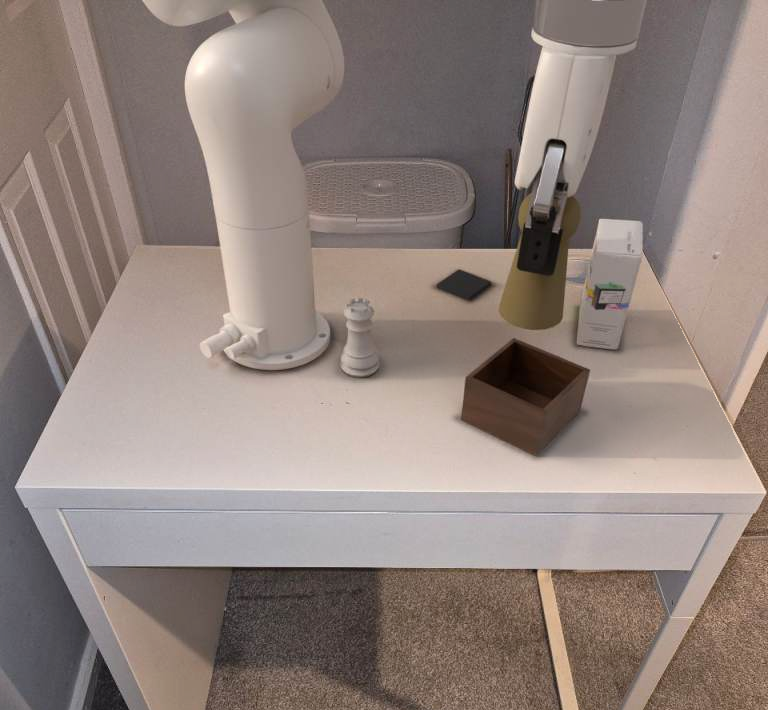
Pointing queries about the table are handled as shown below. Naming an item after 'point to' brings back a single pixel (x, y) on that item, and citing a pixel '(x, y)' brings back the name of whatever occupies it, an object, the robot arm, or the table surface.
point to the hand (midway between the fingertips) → (541, 253)
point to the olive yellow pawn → (539, 279)
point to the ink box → (610, 282)
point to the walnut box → (524, 395)
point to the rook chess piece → (359, 340)
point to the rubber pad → (463, 284)
